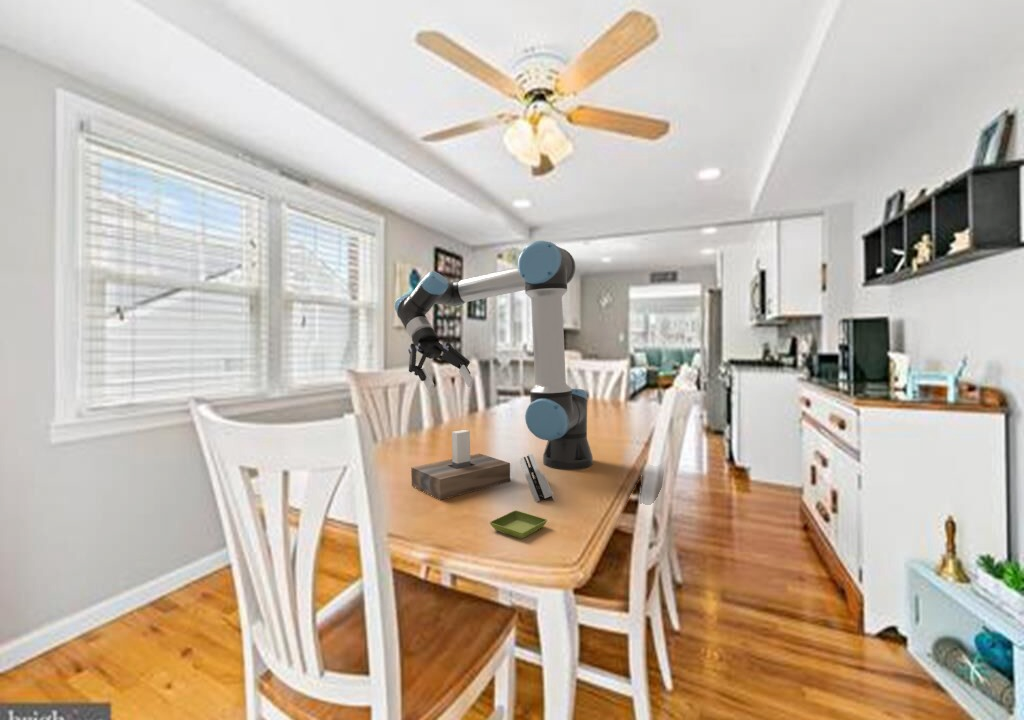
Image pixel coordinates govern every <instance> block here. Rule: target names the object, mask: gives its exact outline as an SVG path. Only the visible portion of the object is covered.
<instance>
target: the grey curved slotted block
mask: <svg viewBox="0 0 1024 720" xmlns="http://www.w3.org/2000/svg"><path fill="white" fill-rule="evenodd" d="M519 462H520V464H521V468H522V470H523V473H524V476H525V479H526V482H527V485H528V487H529V490H530V492H531V495H532V499H533V500H534V502H535V501H537V502H540V500H541V499H547V498H549V497H551V499H552V500H553V501H554V500H556V497H555V495H554V492H553V490H552V488H551V486H550V484H549V482H548V479H547V477H546V476H545V474H544V473H541V471H540V468H539V465H538V463H537V461H536V458H535V456H534V454H533V453H530V454H527V455H526V456H522V457H520V458H519ZM533 476H534V477H533ZM537 487H538V488H537ZM541 497H542V498H541Z"/></svg>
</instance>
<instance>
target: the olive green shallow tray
mask: <svg viewBox="0 0 1024 720" xmlns="http://www.w3.org/2000/svg"><path fill="white" fill-rule="evenodd" d="M547 522H548V519H546V518H544V517H541V516H537V515H533V514H530V513H526V512H523V511H520V510H512V511H511V512H508V513H507V514H504V515H502V516H500V517H497V518H496V519H493V520H491V521H489V524H490V525H491V527H493V529H494V530H495V531H497V532H500V533H503V534H506V535H509V536H512V537H514V536H515V537H514V538H517V537H518V539H521V538H522V539H524V538H526V537H528V536H530V535H531V534H533V533H536V532H537V531H538V529H539V530H541V529H542V528H543V527H544V526H545V524H546V523H547ZM540 528H541V529H540ZM529 534H530V535H529ZM527 535H528V536H527Z"/></svg>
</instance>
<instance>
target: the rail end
mask: <svg viewBox="0 0 1024 720" xmlns="http://www.w3.org/2000/svg"><path fill="white" fill-rule="evenodd" d="M451 451H452V452H451V456H452V457H451V459H452V467H453V468H455V469H459V468H464V467H468V466H470V455H471V432H470V430H467V429H461V430H455V431H451Z"/></svg>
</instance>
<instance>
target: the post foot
mask: <svg viewBox="0 0 1024 720" xmlns="http://www.w3.org/2000/svg"><path fill="white" fill-rule="evenodd" d="M410 469H411V470H410V471H411V487H412V486H414V487H416V488H418V489H417V490H419V489H420V490H419V491H421V490H422V491H421V492H423V491H424V492H423V493H425V492H426V493H425V494H427V493H428V494H427V495H429V494H430V495H429V496H431V495H432V496H431V497H433V496H434V497H433V498H435V497H436V498H435V499H437V498H438V500H439V499H442V500H445V499H444V498H446V499H449V498H448V497H450V498H452V497H451V496H453V497H456V495H457V496H460V495H459V494H461V495H464V493H465V494H467V492H468V493H471V491H472V492H475V491H479V489H480V490H483V489H487V488H490V486H491V487H494V486H498V485H502V484H505V483H506V484H507V483H509V482H510V483H511V462H509V461H504V460H501V459H498V458H495V457H492V456H489V455H485V454H482V453H475V454H470V466H468V467H464V468H459V469H455V468H453V467H452V458H450V459H446V460H445V459H444V460H441V461H436V462H431V463H427V464H421V465H416V466H412V467H411V468H410ZM414 487H413V488H414ZM416 488H415V489H416Z"/></svg>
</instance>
